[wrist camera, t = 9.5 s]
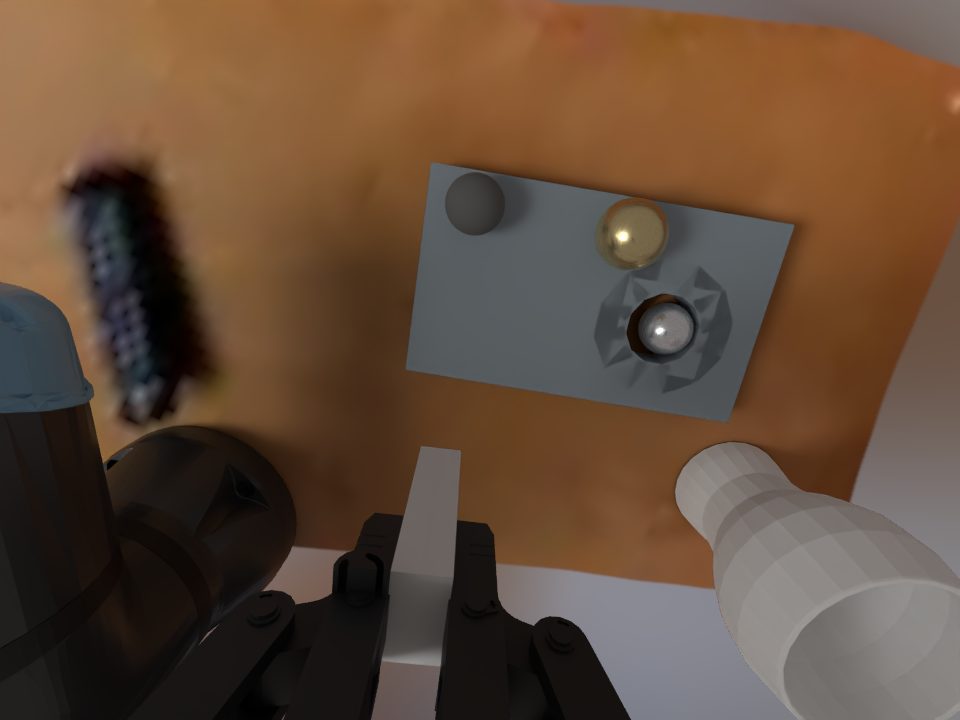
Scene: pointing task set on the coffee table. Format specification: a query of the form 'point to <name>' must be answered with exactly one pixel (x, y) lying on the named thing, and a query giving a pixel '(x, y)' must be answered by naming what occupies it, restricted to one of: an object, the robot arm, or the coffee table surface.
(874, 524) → the cup
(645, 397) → the plate
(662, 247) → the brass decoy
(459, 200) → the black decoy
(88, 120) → the coffee table surface
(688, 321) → the steel ball
